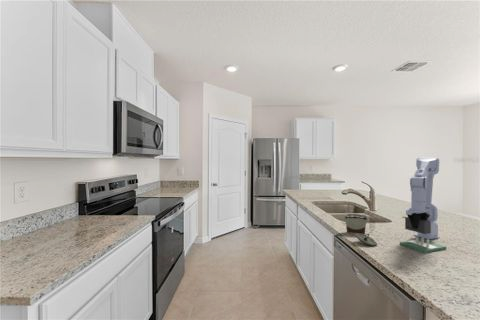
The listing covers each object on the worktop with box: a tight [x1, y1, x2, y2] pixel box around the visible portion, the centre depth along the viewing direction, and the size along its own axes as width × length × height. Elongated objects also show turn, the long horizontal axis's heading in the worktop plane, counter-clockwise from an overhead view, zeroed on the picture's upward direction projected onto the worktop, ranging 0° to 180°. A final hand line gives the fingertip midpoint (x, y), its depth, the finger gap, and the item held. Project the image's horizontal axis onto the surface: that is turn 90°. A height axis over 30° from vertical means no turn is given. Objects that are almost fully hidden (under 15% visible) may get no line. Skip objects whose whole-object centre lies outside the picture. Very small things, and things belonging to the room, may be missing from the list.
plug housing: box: [402, 215, 431, 234], centre depth 124 cm, size 4×12×6 cm, turn 19°
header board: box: [399, 236, 447, 254], centre depth 120 cm, size 15×12×4 cm
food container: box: [344, 213, 369, 235], centre depth 144 cm, size 12×6×10 cm, turn 74°
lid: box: [354, 233, 378, 247], centre depth 125 cm, size 11×10×5 cm
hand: (418, 228), depth 123 cm, fingers closed on plug housing, 4 cm apart
